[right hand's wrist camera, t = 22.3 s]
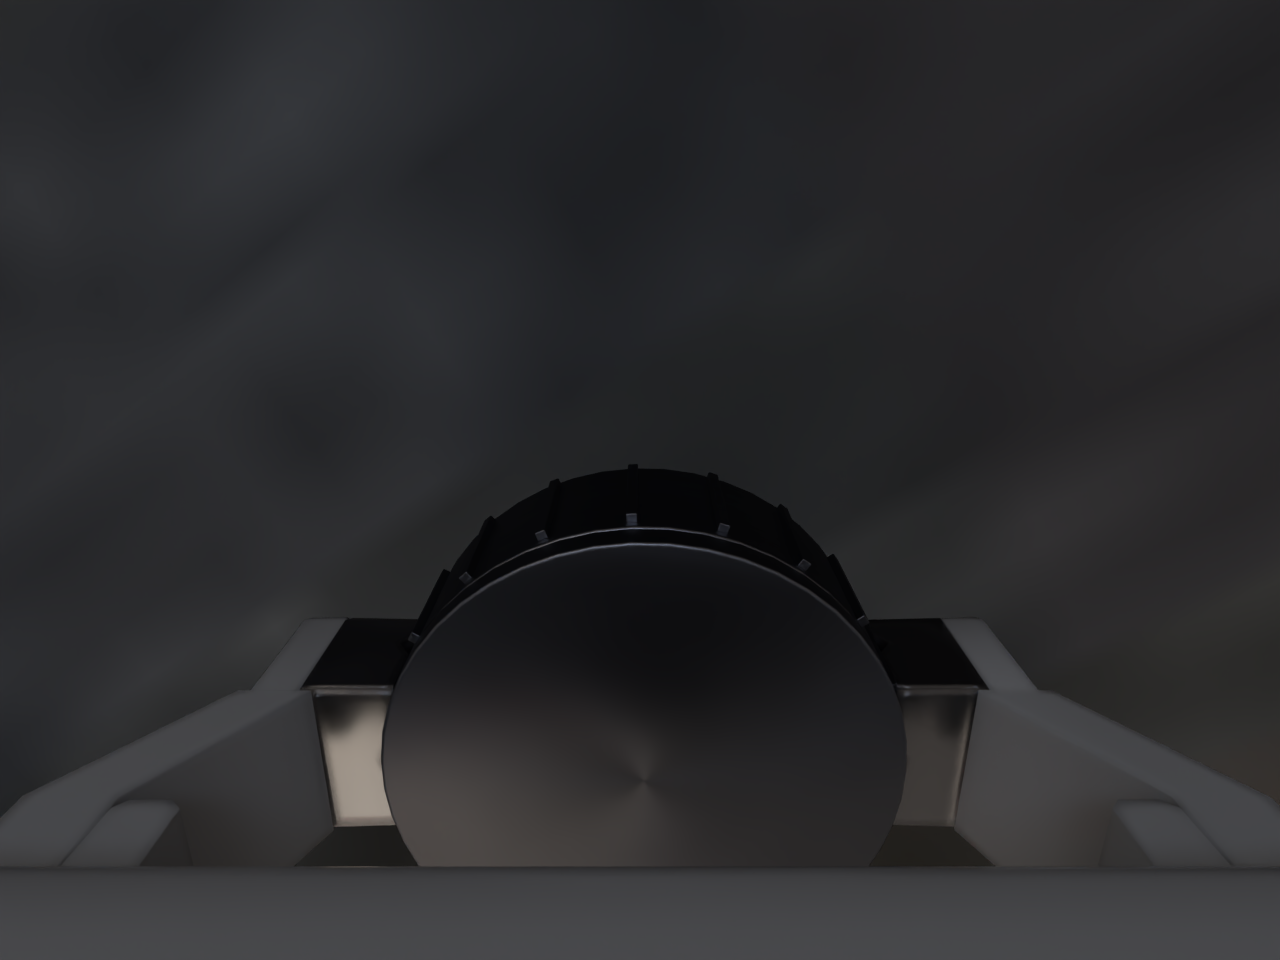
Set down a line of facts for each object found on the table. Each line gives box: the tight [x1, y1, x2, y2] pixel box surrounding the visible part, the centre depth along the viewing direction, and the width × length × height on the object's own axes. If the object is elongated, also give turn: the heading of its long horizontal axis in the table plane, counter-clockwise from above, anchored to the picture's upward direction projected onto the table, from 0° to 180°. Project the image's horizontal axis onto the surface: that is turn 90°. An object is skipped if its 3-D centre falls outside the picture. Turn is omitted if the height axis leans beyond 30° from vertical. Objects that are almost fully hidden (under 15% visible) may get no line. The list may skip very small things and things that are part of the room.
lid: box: [381, 464, 907, 866], centre depth 9 cm, size 6×6×2 cm
